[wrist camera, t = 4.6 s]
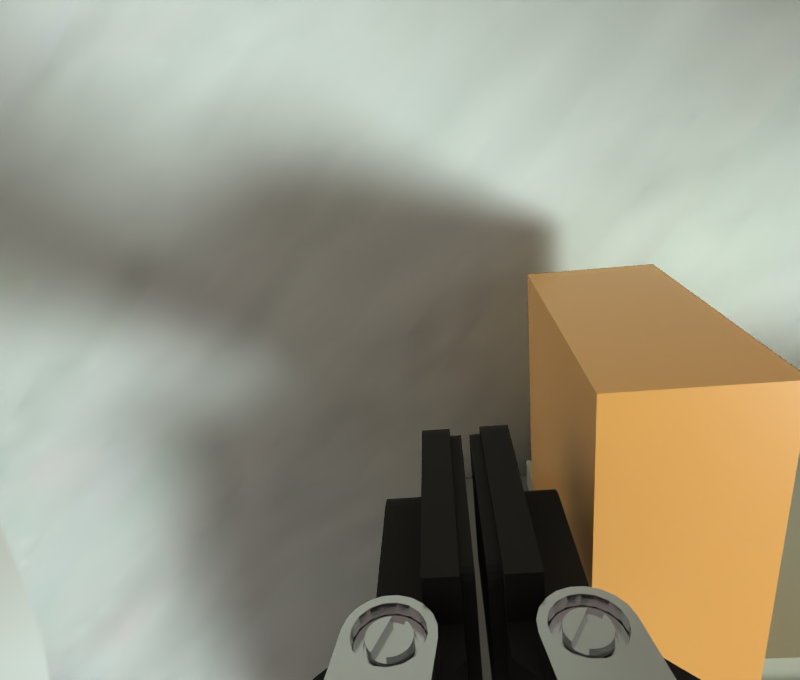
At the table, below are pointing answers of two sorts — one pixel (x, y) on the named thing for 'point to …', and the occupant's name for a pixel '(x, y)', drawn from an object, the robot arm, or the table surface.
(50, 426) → the table surface
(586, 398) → the orange block handle
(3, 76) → the table surface
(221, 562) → the table surface
